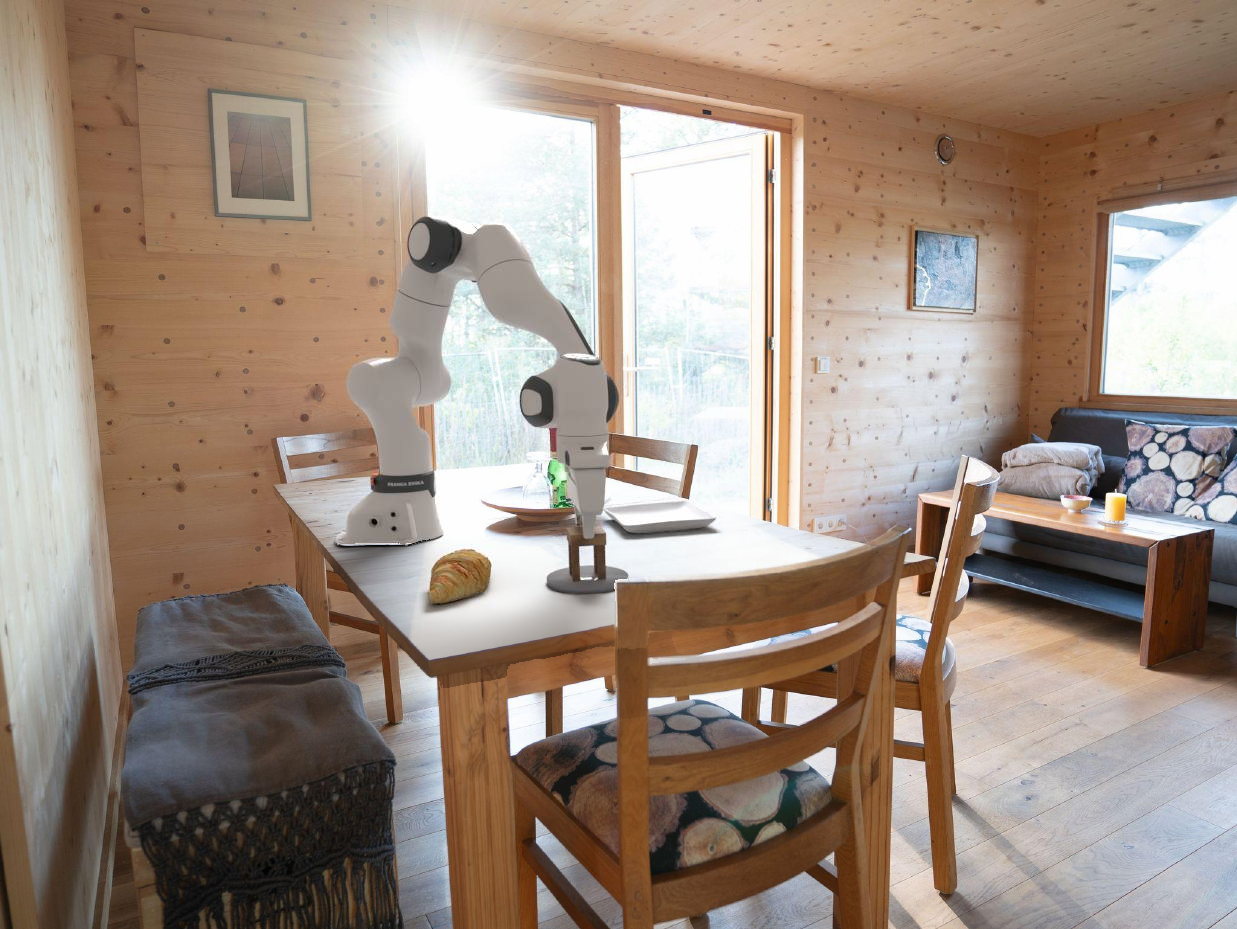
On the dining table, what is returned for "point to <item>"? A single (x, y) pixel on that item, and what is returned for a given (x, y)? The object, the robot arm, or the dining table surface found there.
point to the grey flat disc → (585, 580)
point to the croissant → (459, 576)
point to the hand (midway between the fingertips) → (584, 531)
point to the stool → (578, 540)
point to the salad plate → (660, 517)
